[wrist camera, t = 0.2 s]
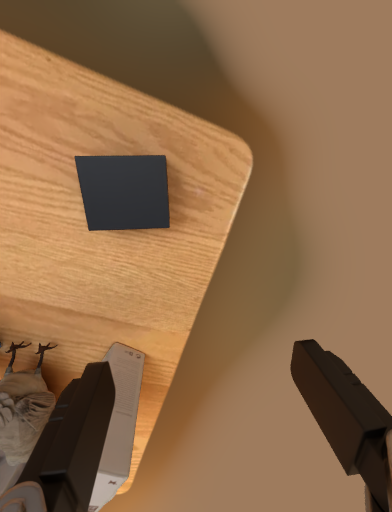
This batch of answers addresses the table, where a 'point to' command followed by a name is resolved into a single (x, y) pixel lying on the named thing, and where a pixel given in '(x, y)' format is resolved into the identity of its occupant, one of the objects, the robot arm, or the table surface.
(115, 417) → the cosmetic box
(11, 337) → the table surface
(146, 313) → the table surface
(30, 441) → the decorative bird
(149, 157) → the storage box
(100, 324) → the table surface
